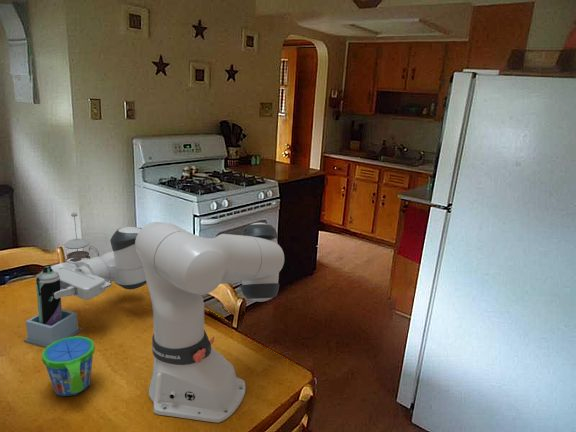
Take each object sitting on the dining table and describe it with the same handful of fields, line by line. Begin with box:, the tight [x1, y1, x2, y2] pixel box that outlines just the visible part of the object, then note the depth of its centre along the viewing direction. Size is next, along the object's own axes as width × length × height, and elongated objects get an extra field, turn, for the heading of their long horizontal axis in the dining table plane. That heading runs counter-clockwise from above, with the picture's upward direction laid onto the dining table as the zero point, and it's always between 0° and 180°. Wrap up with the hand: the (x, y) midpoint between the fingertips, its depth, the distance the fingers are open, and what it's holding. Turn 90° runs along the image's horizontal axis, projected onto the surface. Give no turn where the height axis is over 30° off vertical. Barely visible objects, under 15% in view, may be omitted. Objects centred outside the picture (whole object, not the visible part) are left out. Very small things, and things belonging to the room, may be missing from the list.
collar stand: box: [23, 308, 83, 349], centre depth 115 cm, size 10×10×6 cm
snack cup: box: [41, 335, 95, 397], centre depth 96 cm, size 16×10×10 cm
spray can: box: [35, 265, 63, 326], centre depth 113 cm, size 6×6×20 cm
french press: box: [63, 212, 100, 262], centre depth 146 cm, size 10×12×25 cm
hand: (45, 292), depth 111 cm, fingers closed on spray can, 5 cm apart
